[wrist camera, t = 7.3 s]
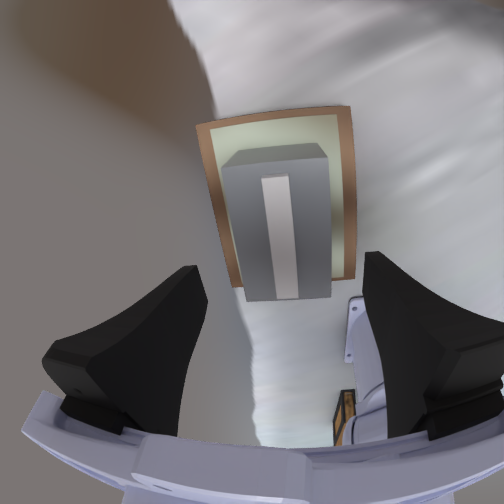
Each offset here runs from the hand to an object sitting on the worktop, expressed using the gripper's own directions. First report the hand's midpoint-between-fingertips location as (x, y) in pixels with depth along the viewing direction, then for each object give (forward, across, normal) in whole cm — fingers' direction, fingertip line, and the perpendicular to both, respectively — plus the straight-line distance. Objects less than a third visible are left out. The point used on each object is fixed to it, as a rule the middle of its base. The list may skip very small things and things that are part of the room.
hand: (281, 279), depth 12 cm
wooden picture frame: (+10, 0, 0) cm, 10 cm away
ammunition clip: (+11, -6, +32) cm, 34 cm away
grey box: (+8, 0, 0) cm, 8 cm away
